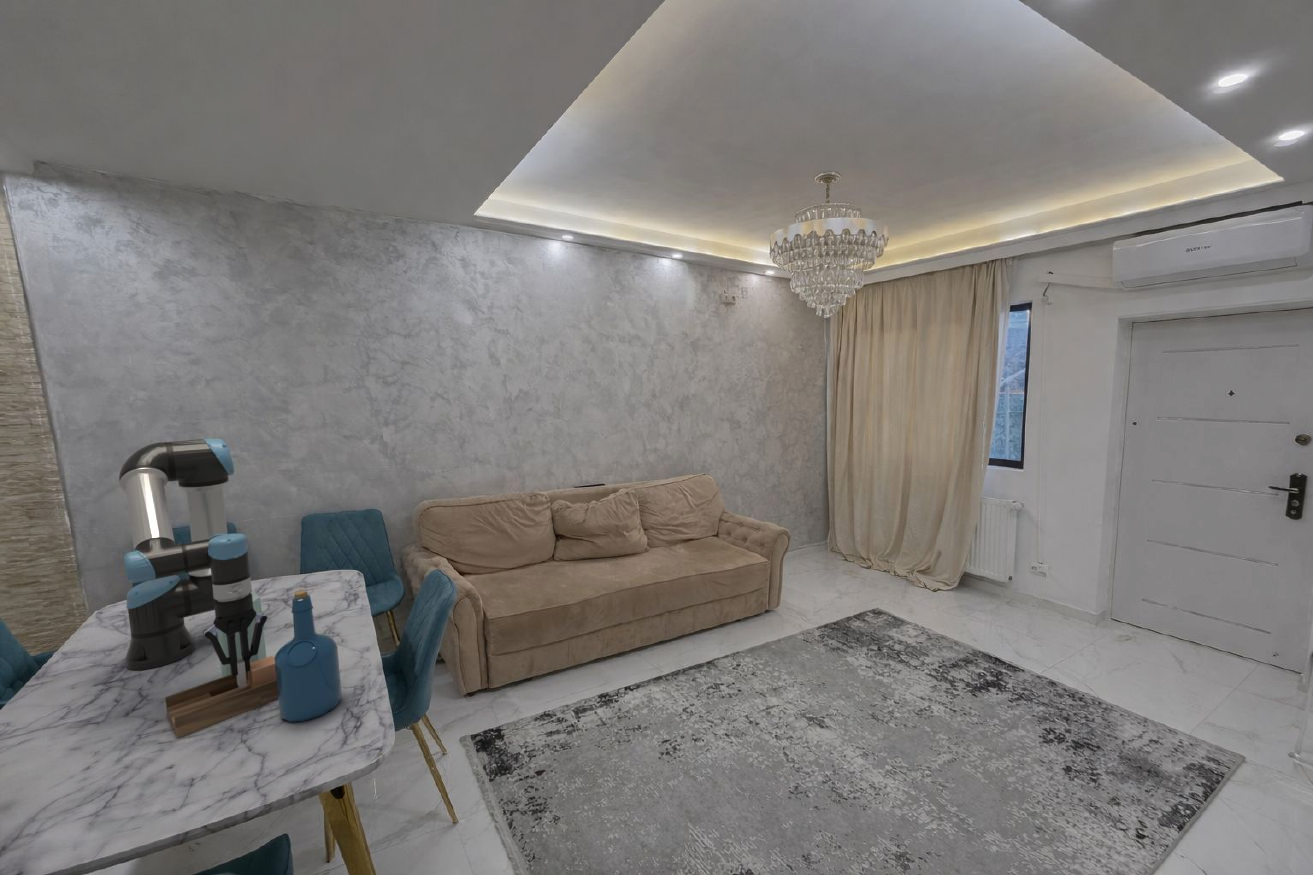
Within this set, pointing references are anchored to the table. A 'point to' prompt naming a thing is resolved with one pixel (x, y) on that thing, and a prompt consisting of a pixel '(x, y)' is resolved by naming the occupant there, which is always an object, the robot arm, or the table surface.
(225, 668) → the water bottle
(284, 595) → the table surface
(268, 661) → the block
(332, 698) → the wine bottle
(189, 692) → the trap box
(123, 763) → the table surface
